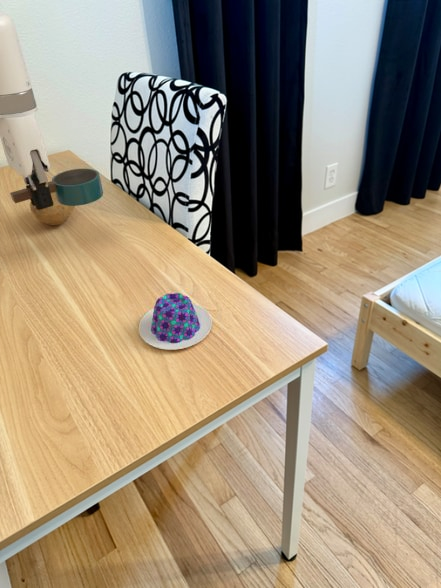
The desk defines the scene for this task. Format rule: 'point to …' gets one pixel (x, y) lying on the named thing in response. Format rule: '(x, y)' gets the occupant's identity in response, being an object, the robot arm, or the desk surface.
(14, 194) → the pan
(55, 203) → the potato
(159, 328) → the pudding
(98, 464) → the desk surface
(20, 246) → the desk surface
